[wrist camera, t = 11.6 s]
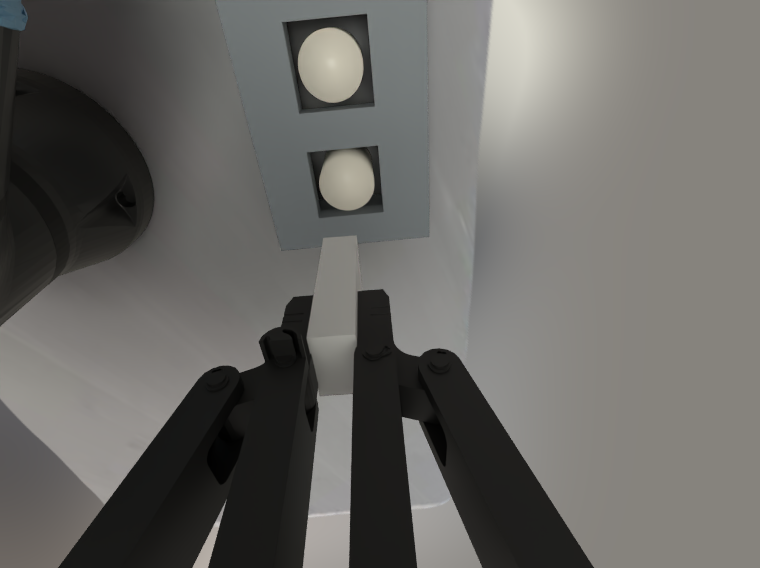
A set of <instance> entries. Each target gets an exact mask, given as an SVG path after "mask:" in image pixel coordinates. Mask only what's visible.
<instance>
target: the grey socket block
mask: <svg viewBox="0 0 760 568" xmlns="http://www.w3.org/2000/svg"><path fill="white" fill-rule="evenodd" d="M215 2H216V5H217V9H218V13H219V17H220V21H221V24H222V28H223V32H224V36H225V40H226V43H227V47H228V51H229V55H230V59H231V62H232V66H233V70H234V74H235V77H236V81H237V85H238V89H239V93H240V96H241V100H242V104H243V108H244V112H245V115H246V119H247V123H248V127H249V131H250V134H251V138H252V142H253V146H254V149H255V153H256V157H257V161H258V165H259V168H260V172H261V176H262V180H263V184H264V187H265V191H266V195H267V199H268V203H269V206H270V210H271V214H272V218H273V221H274V225H275V229H276V233H277V237H278V240H279V244H280V248H281V251H284V250H294V249H305V248H316V247H322V243H323V238H328V237H341V236H355V235H357V243H369V242H380V241H390V240H401V239H412V238H422V237H429V152H428V52H427V0H215ZM361 14H367V23H368V35H369V47H370V59H371V71H372V83H373V95H374V103H364V104H353V105H343V106H333V107H323V108H313V109H302V107H301V101H300V96H299V90H298V85H297V79H296V74H295V68H294V63H293V58H292V52H291V47H290V41H289V36H288V30H287V25H286V22H291V21H301V20H311V19H321V18H331V17H341V16H351V15H361ZM368 146H378V155H379V167H380V178H381V190H382V194H376V195H372V196H371V198H370V200H369V201H368V202H367V203H366V204H365V205H364V206H362V207H360V208H358V209H355V210H340V209H337V208H335V207H333V206H331V205H330V204H329V203H328V202H327V201H326V200H325V199H324V200H319V199H318V194H317V188H316V183H315V177H314V172H313V166H312V161H311V156H310V152H316V151H326V150H337V149H347V148H357V147H368Z"/></svg>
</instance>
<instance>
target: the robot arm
mask: <svg viewBox="0 0 760 568" xmlns="http://www.w3.org/2000/svg"><path fill="white" fill-rule="evenodd" d="M27 20H28V14H27V12H26V10H25V8H24V6H23V5H22V4H21V0H0V326H1V325H2V324H3V323H4V322H6V321H7V320H8V319H9V318H10V317H11V316H13V315H14V314H15V313H16V312H17V311H18V310H19V309H21V308H22V307H23V306H24V305H25V304H26V303H28V302H29V301H30V300H31V299H32V298H33V297H34V296H36V295H37V294H38V293H39V292H40V291H41V290H43V289H44V288H45V287H46V286H47V285H48V284H49V283H51V282H52V281H53V280H54V279H55V278H57V277H58V276H60V275H63V274H66V273H69V272H72V271H75V270H78V269H81V268H84V267H87V266H90V265H93V264H96V263H99V262H102V261H105V260H108V259H110V258H112V257H114V256H116V255H118V254H119V253H121V252H122V251H124V250H125V249H126V248H127V247H129V246H130V245H131V244H132V243H133V242H134V241H135V240H136V239H137V238H138V237H139V236H140V235H141V234H142V232H143V231H144V230H145V228H146V227H147V225H148V223H149V221H150V218H151V215H152V211H153V202H154V195H153V186H152V181H151V178H150V174H149V171H148V168H147V166H146V164H145V161H144V159H143V157H142V155H141V153H140V152H139V150H138V148H137V147H136V145H135V144H134V142H133V141H132V139H131V138H130V137H129V135H128V134H127V133H126V131H125V130H124V129H123V128H122V127H121V126H120V124H119V123H118V122H117V121H116V120H115V119H114V118H113V117H112V116H111V115H110V114H109V113H108V112H106V111H105V110H104V109H103V108H102V107H101V106H99V105H98V104H97V103H96V102H94V101H93V100H92V99H90V98H89V97H87V96H86V95H84V94H83V93H81V92H80V91H78V90H76V89H75V88H73V87H71V86H69V85H67V84H65V83H63V82H61V81H59V80H57V79H54V78H52V77H49V76H46V75H43V74H40V73H37V72H33V71H29V70H24V69H18V68H17V64H18V49H19V35H20V31H23V30H25V26H26V23H27ZM259 344H260V347H261V350H262V353H263V356H264V359H265V363H264V364H262V365H260V366H258V367H256V368H254V369H251V370H247V371H244V372H241V373H239V371H238V370H237V369H236V368H235V367H231V366H219V367H216V368H213V369H211V370H209V371H208V372H206V373H204V374H203V375H202V376H201V377H200V378H199V379H198V381H197V382H196V383H195V385H194V386H193V387H192V389H191V390H190V391H189V393H188V394H187V395H186V397H185V398H184V399H183V401H182V402H181V403H180V405H179V406H178V407H177V409H176V410H175V411H174V413H173V414H172V416H171V417H170V418H169V420H168V421H167V422H166V424H165V425H164V426H163V428H162V429H161V430H160V432H159V433H158V434H157V436H156V437H155V438H154V440H153V441H152V442H151V444H150V445H149V446H148V448H147V449H146V450H145V452H144V453H143V454H142V456H141V457H140V458H139V460H138V461H137V463H136V464H135V465H134V467H133V468H132V469H131V471H130V472H129V473H128V475H127V476H126V477H125V479H124V480H123V481H122V483H121V484H120V485H119V487H118V488H117V489H116V491H115V492H114V493H113V495H112V496H111V497H110V499H109V500H108V501H107V503H106V504H105V506H104V507H103V508H102V510H101V511H100V512H99V514H98V515H97V516H96V518H95V519H94V520H93V522H92V523H91V524H90V526H89V527H88V528H87V530H86V531H85V532H84V534H83V535H82V536H81V538H80V539H79V540H78V542H77V543H76V544H75V546H74V547H73V548H72V550H71V551H70V553H69V554H68V555H67V557H66V558H65V559H64V561H63V562H62V563H61V565H60V566H59V567H58V568H192V567H193V565H194V563H195V561H196V559H197V557H198V555H199V553H200V551H201V549H202V547H203V545H204V543H205V541H206V539H207V537H208V535H209V533H210V531H211V529H212V527H213V525H214V523H215V521H216V519H217V517H218V515H219V513H220V511H221V509H222V507H223V505H224V503H225V502H226V505H225V508H224V512H223V516H222V519H221V523H220V526H219V530H218V534H217V538H216V541H215V545H214V548H213V552H212V556H211V559H210V563H209V566H208V568H303V558H304V549H305V539H306V529H307V520H308V510H309V500H310V490H311V481H312V471H313V461H314V451H315V442H316V432H317V422H318V412H319V408H318V402H317V391H318V390H319V395H320V396H329V395H343V394H353V417H352V462H351V507H350V552H349V553H350V554H349V556H350V557H349V568H417V562H416V552H415V542H414V533H413V523H412V513H411V503H410V493H409V483H408V473H407V464H406V454H405V444H404V434H403V424H402V417H405V418H410V419H414V420H419V423H420V425H421V427H422V430H423V432H424V434H425V437H426V439H427V441H428V444H429V446H430V448H431V450H432V453H433V455H434V457H435V460H436V462H437V464H438V467H439V469H440V471H441V473H442V476H443V478H444V480H445V483H446V485H447V487H448V489H449V492H450V494H451V496H452V499H453V501H454V503H455V505H456V508H457V510H458V512H459V515H460V517H461V519H462V521H463V524H464V526H465V529H466V531H467V533H468V535H469V538H470V540H471V542H472V545H473V547H474V549H475V551H476V554H477V556H478V558H479V561H480V563H481V565H482V568H594V567H593V566H592V564H591V563H590V561H589V560H588V558H587V556H586V555H585V553H584V552H583V550H582V549H581V547H580V545H579V544H578V542H577V541H576V539H575V538H574V536H573V535H572V533H571V532H570V530H569V528H568V527H567V525H566V524H565V522H564V521H563V519H562V517H561V516H560V514H559V513H558V511H557V510H556V508H555V507H554V505H553V503H552V502H551V500H550V499H549V497H548V496H547V494H546V493H545V491H544V490H543V488H542V486H541V485H540V483H539V482H538V480H537V479H536V477H535V475H534V474H533V472H532V471H531V469H530V468H529V466H528V464H527V463H526V461H525V460H524V458H523V457H522V455H521V454H520V452H519V451H518V449H517V447H516V446H515V444H514V443H513V441H512V440H511V438H510V436H509V435H508V433H507V432H506V430H505V429H504V427H503V426H502V424H501V423H500V421H499V419H498V418H497V416H496V415H495V413H494V411H493V410H492V408H491V407H490V405H489V404H488V402H487V401H486V399H485V398H484V396H483V394H482V393H481V391H480V390H479V388H478V387H477V385H476V383H475V382H474V380H473V379H472V377H471V376H470V374H469V373H468V371H467V369H466V368H465V366H464V365H463V363H462V362H461V360H460V359H459V357H458V356H457V355H456V354H455V353H453V352H451V351H449V350H445V349H440V348H439V349H431V350H429V351H426V352H424V353H423V354H422V355H421V356H420V357H417V356H412V355H408V354H405V353H404V352H402V351H400V350H399V349H398V348H397V347H396V346H395V344H394V341H393V332H392V323H391V313H390V304H389V296H388V295H387V294H386V293H385V291H384V290H383V289H380V290H367V291H362V280H361V271H360V262H359V252H358V243H357V235H355V236H341V237H328V238H323V243H322V249H321V254H320V260H319V266H318V272H317V278H316V284H315V290H314V295H312V296H299V297H293V298H292V300H291V301H290V302H289V303H288V304H287V305H286V309H285V313H284V317H283V321H282V325H281V327H277V328H274V329H272V330H270V331H268V332H267V333H265V334H264V335H263V336H262V337H261V339H260V341H259ZM226 500H227V501H226Z"/></svg>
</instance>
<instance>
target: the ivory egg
mask: <svg viewBox="0 0 760 568" xmlns="http://www.w3.org/2000/svg"><path fill="white" fill-rule="evenodd" d="M319 187H320V191H321V194H322V196H323V197H324V199H325V200H326V201H327V202H328V203H329V204H330V205H331V206H333V207H335V208H337V209H340V210H355V209H358V208H360V207H362V206H364V205H365V204H366V203H367V202H368V201H369V200H370V198H371V196H372V194H373V191H374V173H373V162H372V157H371V155H370V152H369V151H368V149H367V148H366V147H357V148H347V149H337V150H328V151H327V153H326V155H325V159H324V163H323V166H322V170H321V174H320V179H319Z"/></svg>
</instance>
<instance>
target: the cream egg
mask: <svg viewBox="0 0 760 568" xmlns="http://www.w3.org/2000/svg"><path fill="white" fill-rule="evenodd" d="M298 70H299V74H300V77H301V80H302V82H303V84H304V86H305V87H306V89H307V90H308V91H309V92H310V93H311V94H312V95H313V96H315V97H316V98H318V99H320V100H322V101H325V102H330V103H336V102H341V101H344V100H346V99H348V98H349V97H351V96H352V95H353V94H354V93H355V91H356V90H357V89H358V87H359V85H360V83H361V80H362V76H363V56H362V51H361V48H360V46H359V44H358V42H357V40H356V39H355V38H354V37H353V35H352V34H350V33H349V32H348V31H346V30H344V29H342V28H338V27H328V28H323V29H320V30H317V31H315V32H313V33H312V34H311V35H309V36H308V37H307V38H306V40H305V41H304V42H303V44H302V46H301V49H300V52H299V56H298Z"/></svg>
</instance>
